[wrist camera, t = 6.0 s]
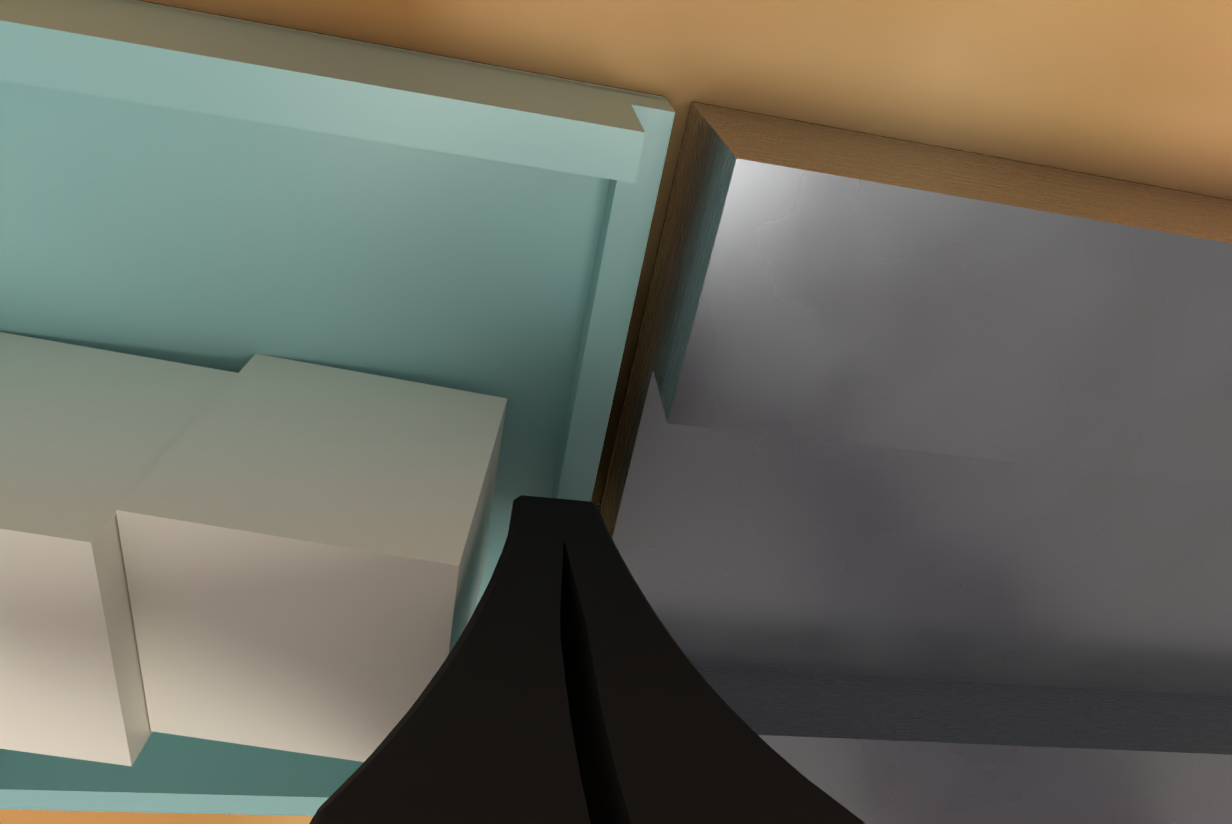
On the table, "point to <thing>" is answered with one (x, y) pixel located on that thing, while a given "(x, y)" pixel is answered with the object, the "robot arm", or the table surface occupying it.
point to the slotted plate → (941, 473)
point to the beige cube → (78, 537)
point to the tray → (315, 262)
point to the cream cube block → (309, 555)
